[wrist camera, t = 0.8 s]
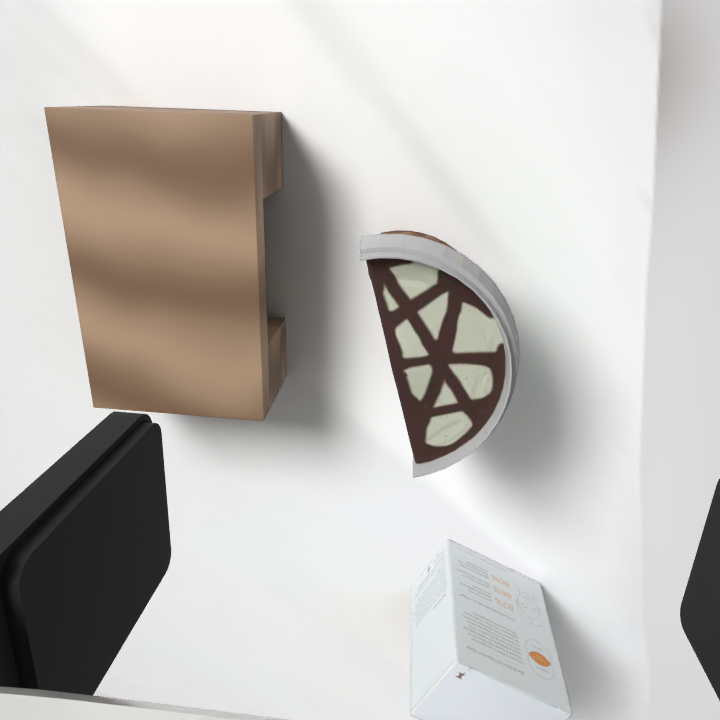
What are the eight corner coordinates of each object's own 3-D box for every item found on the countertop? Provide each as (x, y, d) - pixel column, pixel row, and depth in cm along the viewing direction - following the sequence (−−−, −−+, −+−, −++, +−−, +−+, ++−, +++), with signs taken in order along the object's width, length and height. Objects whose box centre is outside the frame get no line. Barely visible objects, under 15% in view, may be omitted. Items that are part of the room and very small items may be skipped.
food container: (514, 379, 38) (541, 469, 29) (418, 396, 39) (415, 486, 30) (482, 182, 33) (503, 214, 24) (375, 207, 35) (356, 246, 26)
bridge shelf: (106, 105, 34) (44, 107, 28) (281, 112, 33) (252, 115, 28) (139, 365, 40) (93, 407, 35) (286, 376, 39) (263, 420, 34)
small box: (409, 585, 46) (405, 716, 36) (448, 535, 43) (453, 659, 34) (501, 629, 46) (520, 768, 37) (543, 582, 44) (575, 717, 35)
